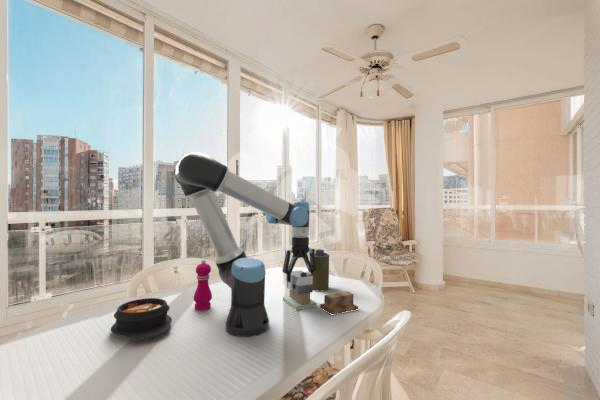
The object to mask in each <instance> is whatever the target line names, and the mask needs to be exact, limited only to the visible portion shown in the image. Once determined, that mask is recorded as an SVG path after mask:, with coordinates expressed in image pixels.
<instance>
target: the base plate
mask: <svg viewBox="0 0 600 400" xmlns="http://www.w3.org/2000/svg"><path fill="white" fill-rule="evenodd" d="M286 288H287V289H288V282H287V281H286ZM292 291H293V292H295V293H297V294H304V293H310V294H311V293H313V292H314V291H313V284H310V285H302V286H297V285H295V284H294V283H292Z"/></svg>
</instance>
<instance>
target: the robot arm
mask: <svg viewBox="0 0 600 400" xmlns="http://www.w3.org/2000/svg"><path fill="white" fill-rule="evenodd" d="M173 175H174V179H175V181H176V182H177V184H179V185H180V187H181V189H182V192H183V194H184V196H185V198H188V199H190V200H191V201H192V203H193V205H194V208H195V210H196V213H197V214H198V217H199V219H200V221H201V223H202V225H203V228H204V230H205V232H206V235H207V237H208V239H209V241H210V244H211V246H212V248H213V250H214V253H215V255H216V259H215V261H214V262H215V264H216V267H217V270H218V275H219V278H220V280H221V281H222V282H223V283H224V284H225V285H227V286H228V287H229V288H230V290H231V293H230V294H231V296H230V297H231V298H230V308H229V312H228V315H227V317H226V320H225V331H226V332H227V333H228V334H230V335H232V336H237V337H252V336H257V335H261V334H264V333H265V332H267V330H268V329H269V327H270V319H269V316H268V312H267V309H266V305H265V297H266V296H265V292H266V291H265V290H266V288H265V287H266V286H265V285H266V273H267V272H266V266H265V263H264V262H263V261H262V260H261V259H258V258H253V257H248V256H247V254H246V252H245V250H244V249H243V248H242V247H239V246H238V244H237V242H236V239H235V237H234V235H233V232H232V230H231V228H230V226H229V223H228V220H227V218H226V216H225V213H224V211H223V209H222V206H221V203H220V202H219V200H218V198H217V194H216V193H217V192H221V193H223V194H225V195H226V196H229V197H231V198H233V199H235V200H238V201H240V202H241V203H244V204H246V205H248V206H250V207H252V208H254V209H257V210H258V211H260V212H263V213H264V214H265V220H266V221H267V223H268V224H274V225H277V224H280V225H286V226H291V236H292V237H291V248H290V249H285V250H284V254H285V256H284V261H283V267H282V273H283V274H285V275H286V283H287V282H288V288H287V289H290V290H292V280H293V275H292V274H291V272H292V271H294V268H295V265H296V263H297V261H298V259H301V258H302V259H303V261H304V262H305V263H304V264H305V265H306V268H307V271H306V273H307V274H310V275H312V276H313V272H314V271H315V270H317V268H316V261H315V255H314V253H316V251H315V250H316V249H315V248H313V247H311V248H310V247H309V245H310V238H309V236H310V213H311V212H310V210H311V209H310V203H309V202H308V201H292V203H291V202H289V201H287V200H285V199H283V198H281V197H279V196H277V195H275V194H273V193H272V192H269V190H266V189H264V188H262V187H260V186H259V185H256V184H254V183H253V182H251V181H249V180H247V179H245V178H243V177H241V176H239V175H238V174H235V173H233V172H232V171H230V169H229V167H228V166H226V165H225V164H223V163H221V162H219V161H218V160H216V159H214V158H213V157H210V156H208V155H206V154H205V153H202V152H197V151H196V152H195V151H194V152H189V153H187V154H185V155H184V156H183V157H181V158H180V159H179V160H178V161H177V162H176V163H175V166H174V169H173ZM308 253H309V256H308ZM310 261H311V264H310Z"/></svg>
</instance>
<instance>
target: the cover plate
mask: <svg viewBox="0 0 600 400" xmlns="http://www.w3.org/2000/svg"><path fill="white" fill-rule="evenodd" d="M291 274H292V275H293V280H292V283H294V284H295V285H297V286H302V285H310V284H313V276H312V275H310V274H307V271H303V270H292V272H291Z"/></svg>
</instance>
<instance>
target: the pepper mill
mask: <svg viewBox="0 0 600 400" xmlns="http://www.w3.org/2000/svg"><path fill="white" fill-rule="evenodd" d="M206 262H207V261H206V260H205V259H202V260H201V263H199V264H197V266H196V267H195V273H196V274H197V275H196V279H197V285H196V286H197V287H196V289H195V291H194V294H193V301H194V302H195V303H194V309H195V310H196V311H207V310H209V309H211V307H212V305H211V300H212V298H213V294H212V291H211V289H210V285H209V279H210V278H211V277H210V273H211V271H212V268H211V265H210V264H209V263H206Z"/></svg>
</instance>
